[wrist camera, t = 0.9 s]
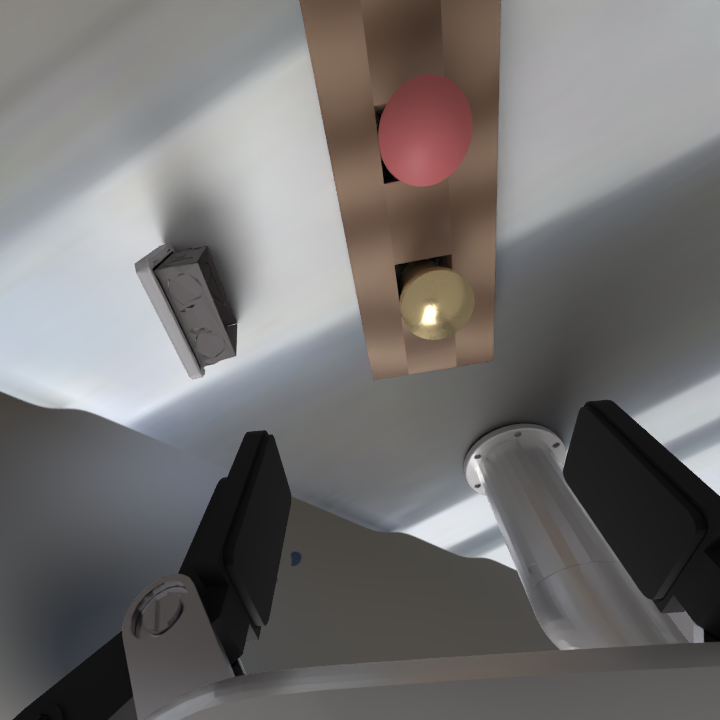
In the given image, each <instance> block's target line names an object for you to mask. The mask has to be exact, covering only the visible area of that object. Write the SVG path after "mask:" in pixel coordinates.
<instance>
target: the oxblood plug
mask: <svg viewBox="0 0 720 720" xmlns="http://www.w3.org/2000/svg"><path fill="white" fill-rule="evenodd" d="M472 125H473V124H472V114H471V109H470V106H469V103H468V101H467V98H466V96H465V95H464V93H463V92H462V90H461V89H460V88H459V87H458V86H457V85H456V84H455V83H454V82H453V81H451V80H449V79H448V78H446V77H443V76H440V75H435V74H426V75H420V76H417V77H414V78H412V79H410V80H408V81H407V82H406V83H404V84H403V85H402V86H400V87H399V88H398V89H397V90H396V92H395V93H394V94H393V95H392V97H391V98H390V100H389V101H388V103H387V105H386V107H385V109H384V111H383V113H382V116H381V119H380V123H379V129H378V146H379V151H380V155H381V158H382V160H383V162H384V164H385V166H386V168H387V169H388V170H389V172H390V173H391V174H392V175H393V176H394V177H395V178H397V179H398V180H400V181H402V182H404V183H406V184H409V185H412V186H420V187H424V186H430V185H434V184H437V183H439V182H441V181H443V180H444V179H446V178H447V177H449V176H450V175H451V174H452V173H453V172H454V171H455V170H456V169H457V168H458V166H459V165H460V164H461V162H462V161H463V159H464V157H465V155H466V153H467V151H468V148H469V145H470V141H471V136H472Z"/></svg>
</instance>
